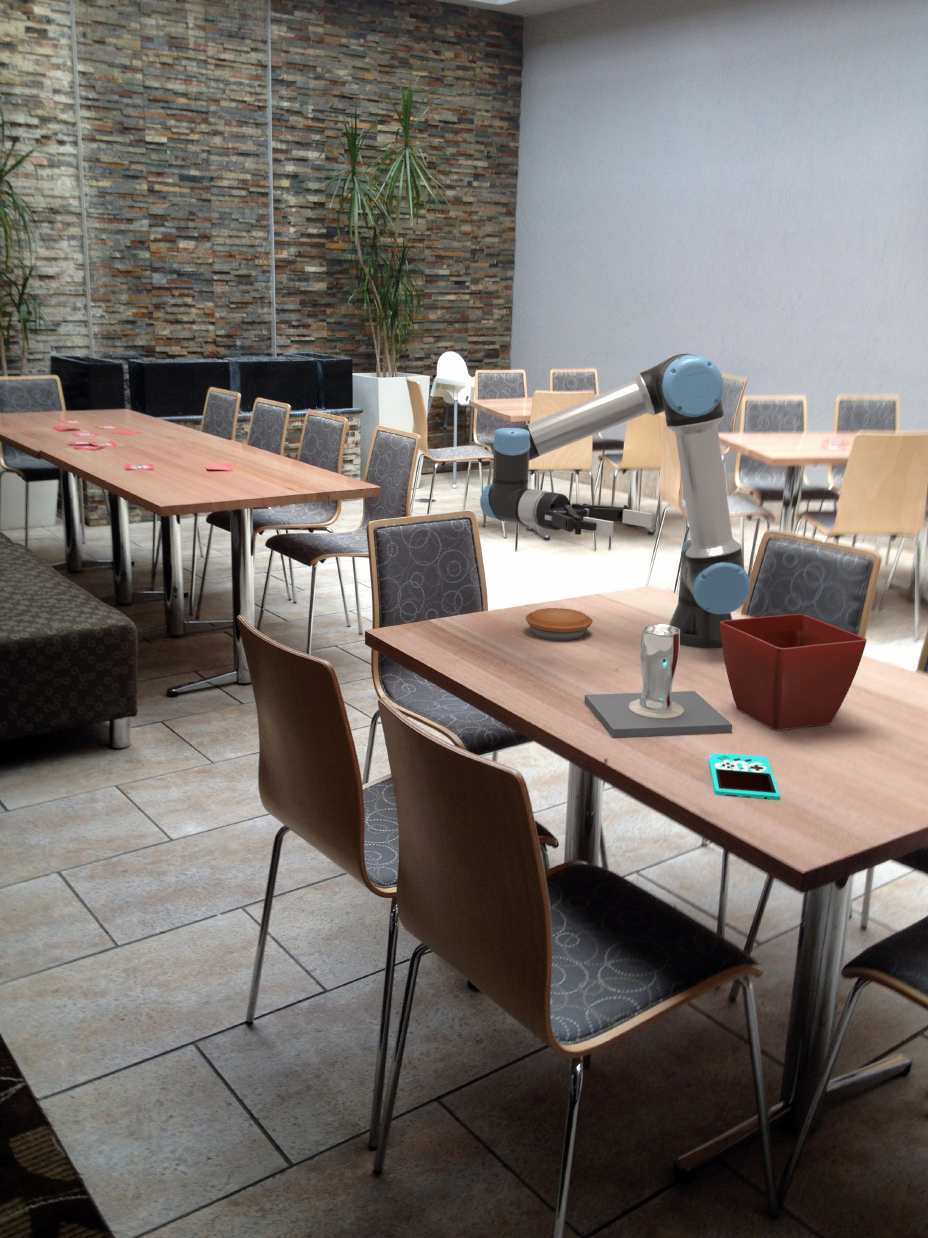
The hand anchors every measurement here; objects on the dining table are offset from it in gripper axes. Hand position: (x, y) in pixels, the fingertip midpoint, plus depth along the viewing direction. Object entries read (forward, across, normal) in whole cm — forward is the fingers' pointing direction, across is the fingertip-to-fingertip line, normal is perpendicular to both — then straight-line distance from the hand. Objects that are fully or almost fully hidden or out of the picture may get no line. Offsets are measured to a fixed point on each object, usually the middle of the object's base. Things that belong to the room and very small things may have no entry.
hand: (632, 524), depth 212 cm
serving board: (+16, +13, -32) cm, 38 cm away
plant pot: (+32, -5, -32) cm, 46 cm away
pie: (-30, -18, -32) cm, 48 cm away
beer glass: (+16, +13, -30) cm, 36 cm away
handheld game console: (+41, +26, -33) cm, 58 cm away
